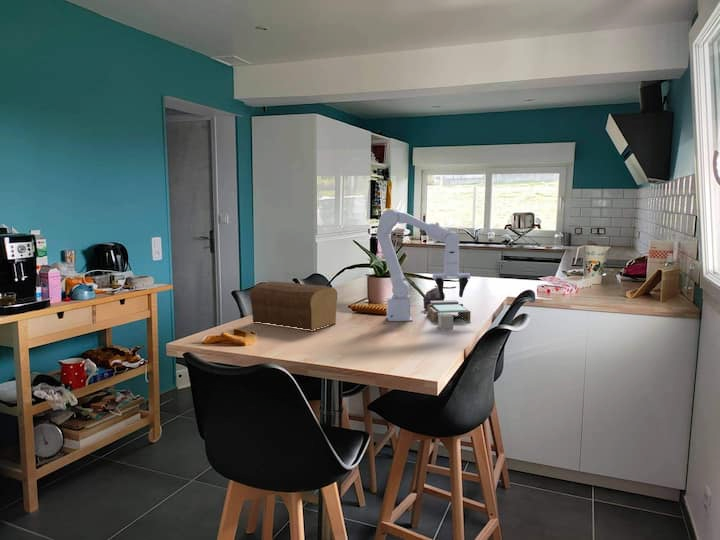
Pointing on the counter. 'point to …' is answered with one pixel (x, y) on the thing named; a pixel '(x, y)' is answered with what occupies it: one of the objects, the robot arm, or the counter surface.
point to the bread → (294, 304)
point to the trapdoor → (447, 306)
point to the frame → (434, 314)
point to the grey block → (445, 321)
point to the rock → (432, 297)
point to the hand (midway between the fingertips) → (451, 297)
